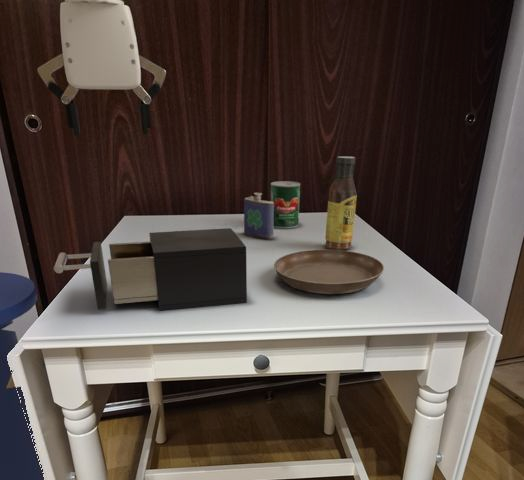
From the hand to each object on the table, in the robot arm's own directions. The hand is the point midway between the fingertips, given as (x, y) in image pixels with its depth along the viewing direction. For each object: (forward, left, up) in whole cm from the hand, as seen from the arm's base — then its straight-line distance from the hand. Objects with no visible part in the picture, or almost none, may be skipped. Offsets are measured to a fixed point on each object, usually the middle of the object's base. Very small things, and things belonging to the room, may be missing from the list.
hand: (111, 134), depth 72 cm
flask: (+32, +36, -26) cm, 55 cm away
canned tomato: (+42, +46, -26) cm, 67 cm away
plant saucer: (+36, +1, -26) cm, 45 cm away
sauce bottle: (+48, +22, -26) cm, 59 cm away
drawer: (-2, 0, -25) cm, 25 cm away
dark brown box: (+12, 0, -26) cm, 29 cm away
